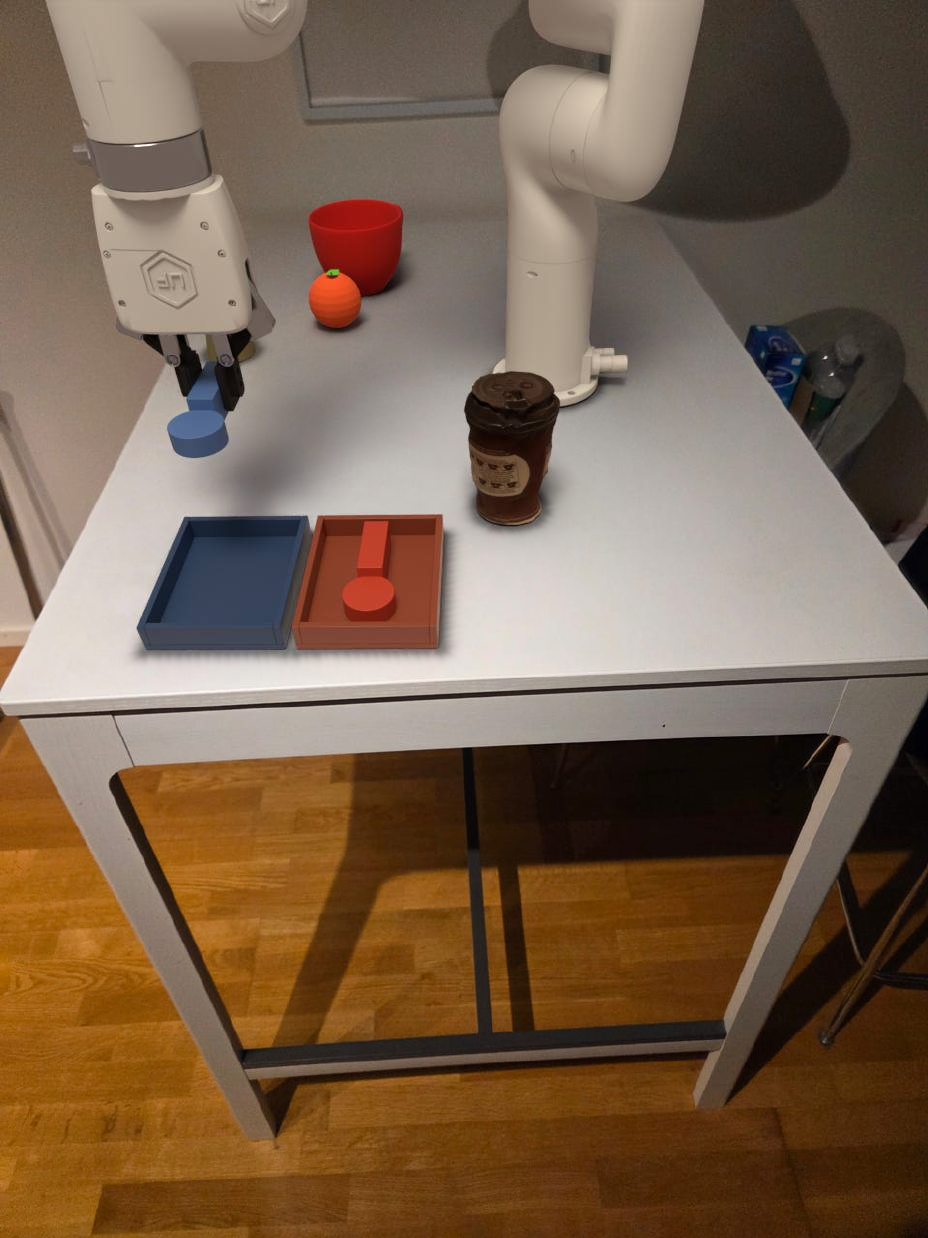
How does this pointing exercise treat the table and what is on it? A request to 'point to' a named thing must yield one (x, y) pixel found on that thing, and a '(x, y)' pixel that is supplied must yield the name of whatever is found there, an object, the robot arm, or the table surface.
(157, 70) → the robot arm
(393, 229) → the ceramic cup
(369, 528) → the red spoon
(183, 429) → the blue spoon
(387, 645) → the red tray
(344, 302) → the clementine
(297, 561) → the blue tray
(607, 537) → the table surface
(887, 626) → the table surface
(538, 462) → the coffee cup
